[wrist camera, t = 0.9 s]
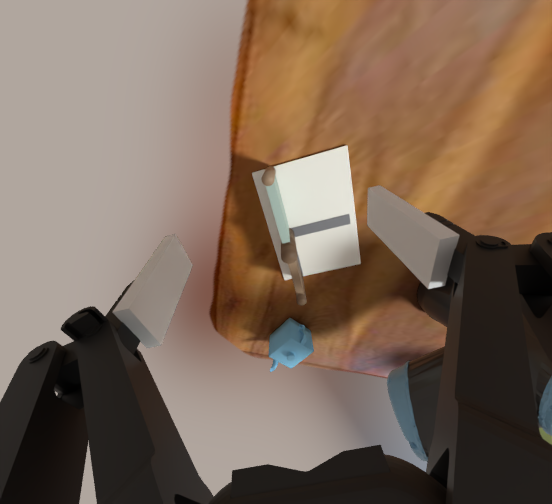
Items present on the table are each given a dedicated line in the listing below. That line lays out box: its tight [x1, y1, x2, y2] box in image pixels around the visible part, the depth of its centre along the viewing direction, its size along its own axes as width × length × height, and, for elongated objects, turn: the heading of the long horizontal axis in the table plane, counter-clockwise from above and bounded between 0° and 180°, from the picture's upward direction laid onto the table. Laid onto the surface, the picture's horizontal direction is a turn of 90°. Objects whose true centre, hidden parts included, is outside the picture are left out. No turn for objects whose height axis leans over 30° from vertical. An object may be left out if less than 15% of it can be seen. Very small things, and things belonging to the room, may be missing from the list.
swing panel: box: [261, 166, 290, 244], centre depth 32 cm, size 10×2×8 cm, turn 15°
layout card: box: [252, 145, 361, 280], centre depth 38 cm, size 21×15×1 cm
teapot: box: [269, 318, 314, 372], centre depth 47 cm, size 12×6×8 cm, turn 142°
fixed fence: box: [281, 228, 307, 305], centre depth 37 cm, size 11×2×9 cm, turn 15°
